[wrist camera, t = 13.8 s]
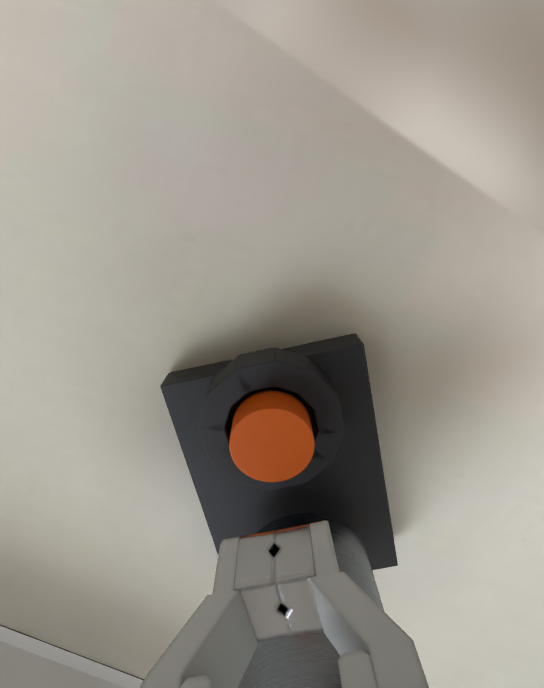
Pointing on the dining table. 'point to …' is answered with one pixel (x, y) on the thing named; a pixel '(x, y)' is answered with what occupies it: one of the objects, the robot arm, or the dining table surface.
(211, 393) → the button base
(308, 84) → the dining table surface
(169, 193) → the dining table surface
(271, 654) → the kettle
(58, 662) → the book
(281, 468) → the orange button
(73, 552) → the dining table surface
